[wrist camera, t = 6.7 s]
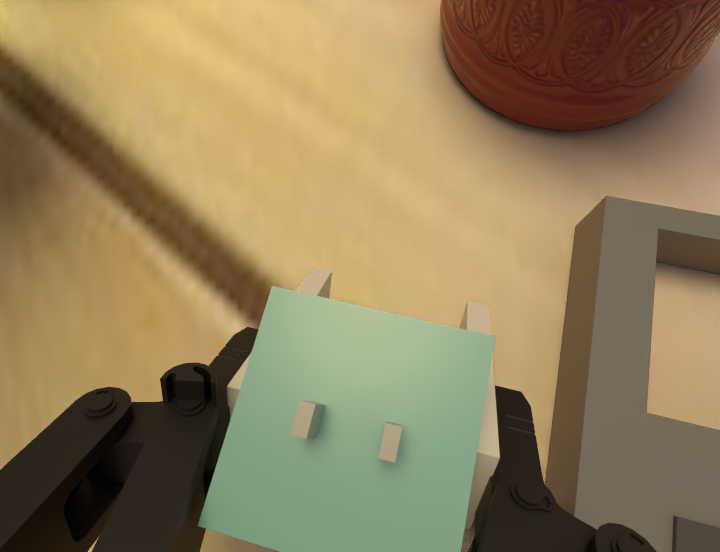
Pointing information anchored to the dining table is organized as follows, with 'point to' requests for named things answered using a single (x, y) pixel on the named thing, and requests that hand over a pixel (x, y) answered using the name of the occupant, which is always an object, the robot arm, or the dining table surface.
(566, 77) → the canister
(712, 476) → the grey flat block
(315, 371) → the charger block
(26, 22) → the dining table surface
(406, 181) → the dining table surface
